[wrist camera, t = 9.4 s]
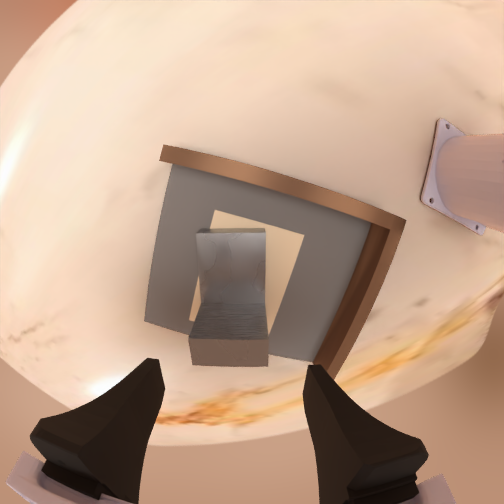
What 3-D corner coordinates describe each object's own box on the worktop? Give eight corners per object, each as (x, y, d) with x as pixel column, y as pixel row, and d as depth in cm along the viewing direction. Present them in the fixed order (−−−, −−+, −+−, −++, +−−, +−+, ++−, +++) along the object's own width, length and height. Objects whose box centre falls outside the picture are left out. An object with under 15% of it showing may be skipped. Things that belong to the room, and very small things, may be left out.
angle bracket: (263, 317, 21) (267, 366, 15) (206, 317, 21) (192, 365, 15) (264, 228, 19) (270, 252, 13) (200, 228, 19) (178, 252, 13)
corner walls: (384, 212, 19) (406, 220, 16) (321, 360, 23) (330, 385, 19) (178, 149, 18) (163, 144, 14) (145, 318, 21) (131, 340, 18)
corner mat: (384, 212, 19) (387, 213, 19) (321, 360, 23) (322, 364, 22) (178, 149, 18) (176, 148, 17) (145, 318, 21) (143, 321, 21)
